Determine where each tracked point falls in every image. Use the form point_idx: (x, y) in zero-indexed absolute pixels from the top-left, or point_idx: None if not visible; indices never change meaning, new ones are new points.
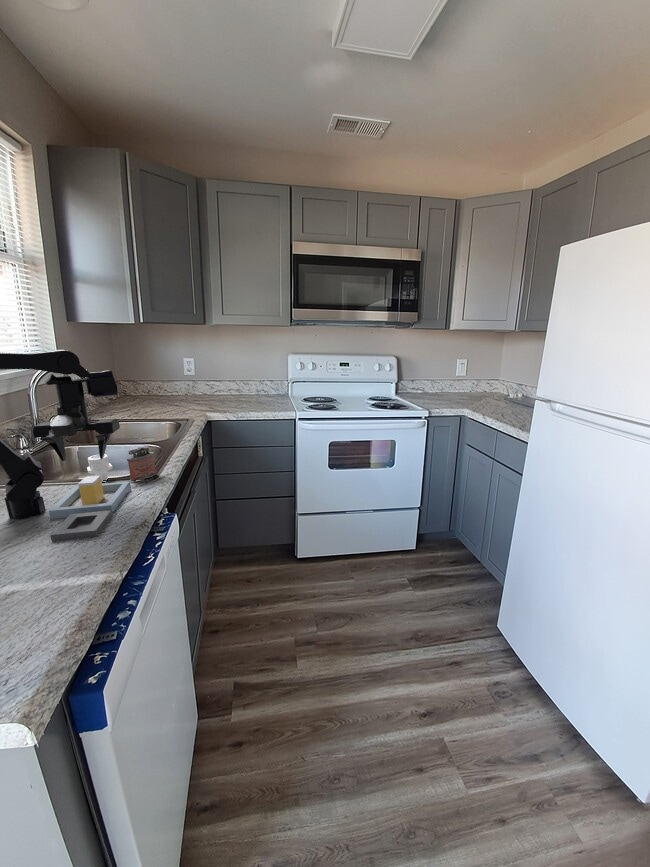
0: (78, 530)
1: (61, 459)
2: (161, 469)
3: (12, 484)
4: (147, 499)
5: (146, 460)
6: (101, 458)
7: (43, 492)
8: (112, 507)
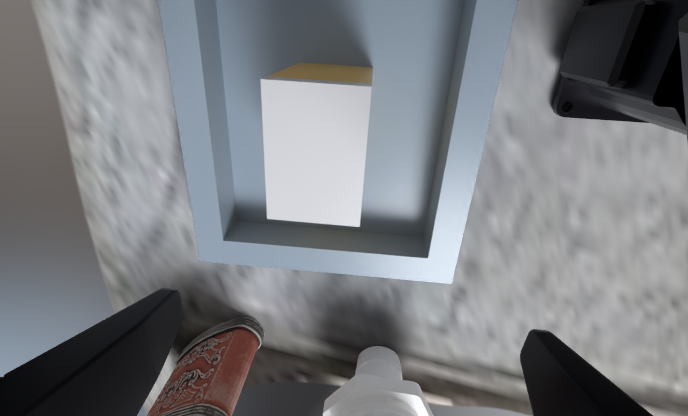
0: None
1: (562, 342)
2: None
3: None
4: (101, 113)
5: (157, 411)
6: (166, 289)
7: (596, 328)
8: None
